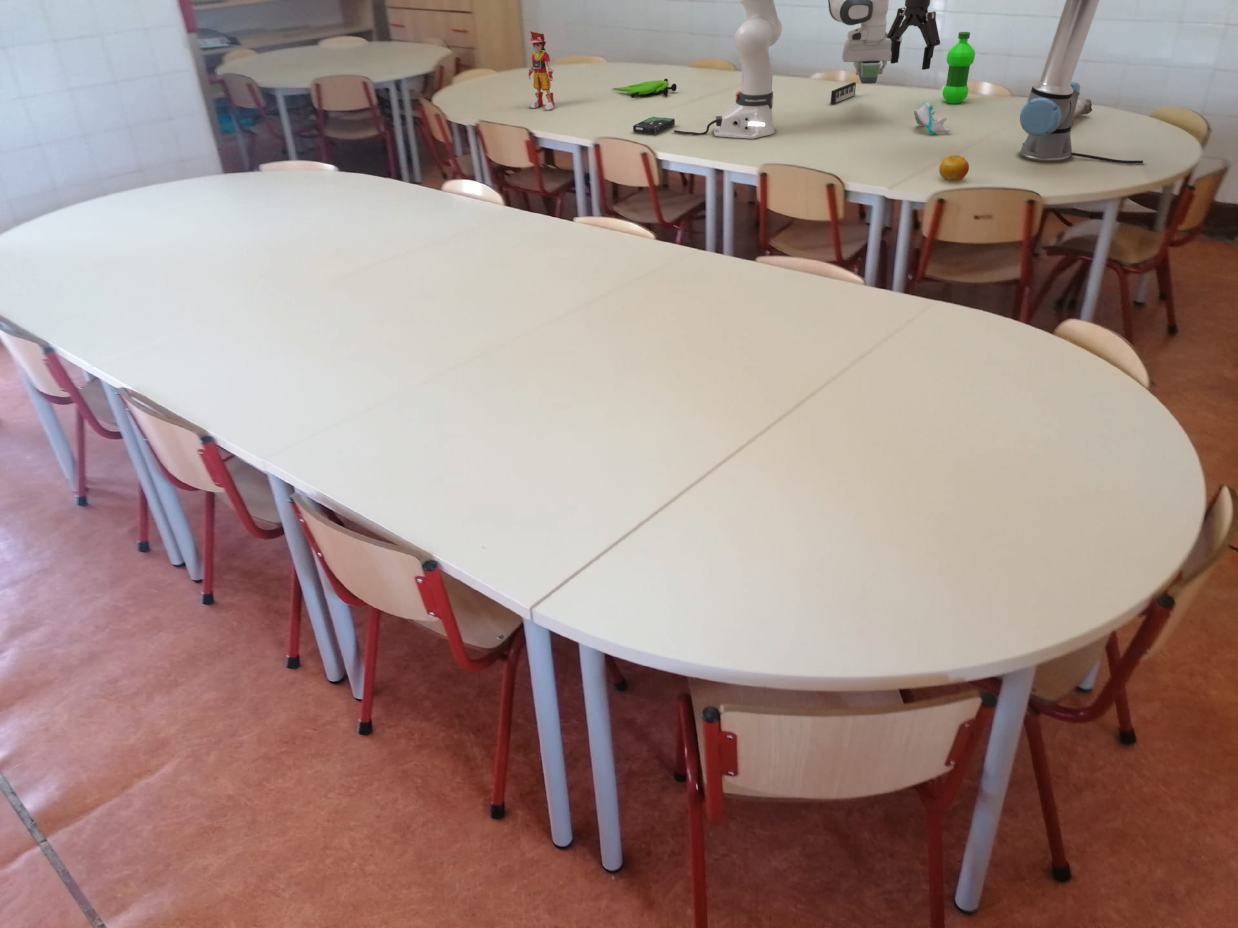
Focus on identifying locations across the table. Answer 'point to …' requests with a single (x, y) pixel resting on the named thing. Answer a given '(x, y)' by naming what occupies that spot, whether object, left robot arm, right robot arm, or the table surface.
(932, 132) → the anatomical model
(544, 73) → the toy
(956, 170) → the fruit
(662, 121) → the disk drive
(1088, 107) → the rolled mat
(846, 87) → the midi keyboard
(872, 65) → the planter
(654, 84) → the toy
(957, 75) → the plastic bottle
